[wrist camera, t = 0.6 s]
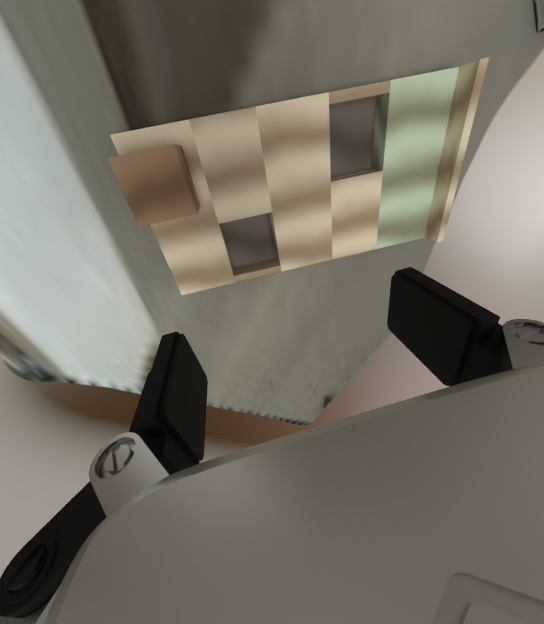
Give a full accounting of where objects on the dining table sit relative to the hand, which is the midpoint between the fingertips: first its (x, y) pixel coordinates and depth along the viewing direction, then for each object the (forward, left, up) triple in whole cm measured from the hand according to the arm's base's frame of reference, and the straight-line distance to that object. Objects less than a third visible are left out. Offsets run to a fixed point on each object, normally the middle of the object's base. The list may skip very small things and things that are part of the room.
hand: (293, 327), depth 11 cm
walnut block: (-5, -8, -24) cm, 26 cm away
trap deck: (-1, +8, -27) cm, 28 cm away
